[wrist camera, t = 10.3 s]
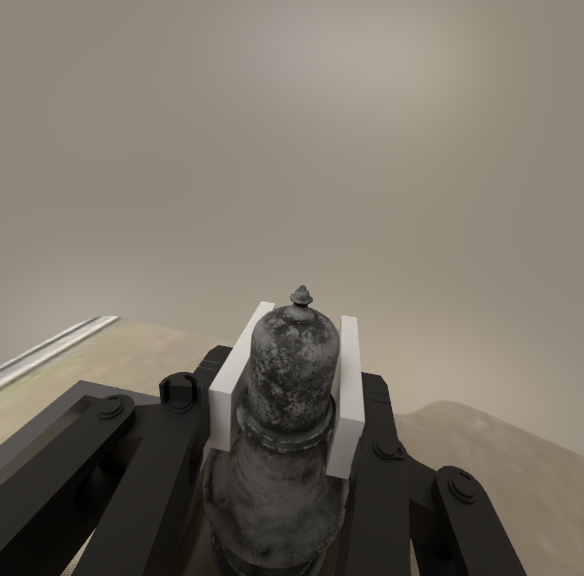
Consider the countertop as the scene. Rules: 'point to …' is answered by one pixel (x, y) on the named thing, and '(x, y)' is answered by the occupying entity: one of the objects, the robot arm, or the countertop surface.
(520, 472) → the countertop surface
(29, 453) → the grey flat rectangular frame
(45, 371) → the countertop surface
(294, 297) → the dark grey chess piece
